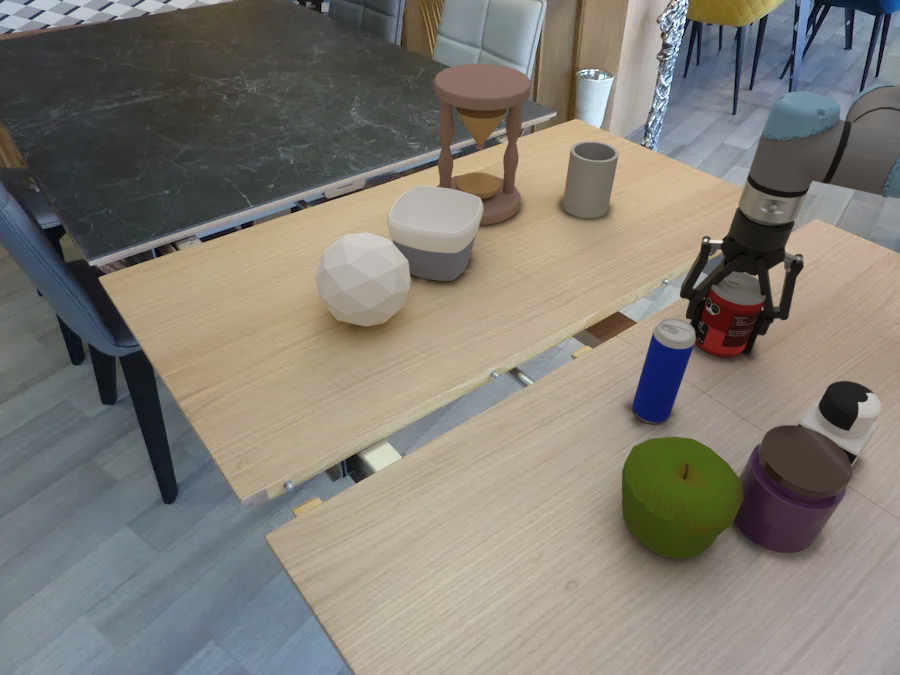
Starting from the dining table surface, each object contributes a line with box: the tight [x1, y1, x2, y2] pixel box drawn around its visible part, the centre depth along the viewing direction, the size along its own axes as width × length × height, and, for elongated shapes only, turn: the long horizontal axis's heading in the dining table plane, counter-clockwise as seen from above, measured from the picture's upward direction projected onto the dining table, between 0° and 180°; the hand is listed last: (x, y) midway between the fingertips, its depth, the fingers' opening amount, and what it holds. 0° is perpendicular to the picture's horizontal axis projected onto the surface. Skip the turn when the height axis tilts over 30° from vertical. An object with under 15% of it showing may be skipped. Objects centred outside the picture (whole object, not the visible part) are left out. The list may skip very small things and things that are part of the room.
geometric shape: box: [314, 232, 412, 327], centre depth 103 cm, size 14×15×15 cm
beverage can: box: [632, 317, 696, 425], centre depth 88 cm, size 5×5×15 cm
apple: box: [621, 436, 743, 560], centre depth 75 cm, size 12×12×11 cm
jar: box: [733, 424, 853, 554], centre depth 76 cm, size 10×10×11 cm
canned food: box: [695, 272, 766, 358], centre depth 101 cm, size 8×8×11 cm
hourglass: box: [433, 63, 532, 226], centre depth 128 cm, size 18×18×25 cm
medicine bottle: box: [797, 380, 883, 467], centre depth 83 cm, size 7×7×12 cm
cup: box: [562, 140, 620, 219], centre depth 132 cm, size 9×9×12 cm
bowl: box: [386, 185, 484, 282], centre depth 116 cm, size 15×15×11 cm
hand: (718, 340), depth 104 cm, fingers closed on canned food, 8 cm apart
